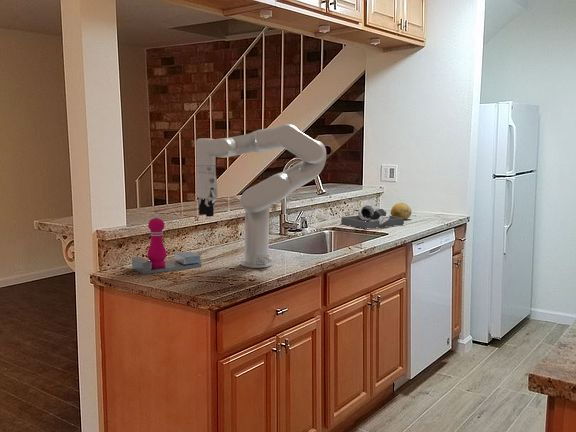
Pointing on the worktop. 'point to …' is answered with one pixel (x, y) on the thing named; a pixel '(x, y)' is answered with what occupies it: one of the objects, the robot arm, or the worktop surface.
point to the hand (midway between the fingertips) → (206, 214)
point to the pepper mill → (156, 243)
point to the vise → (145, 268)
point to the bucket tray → (371, 222)
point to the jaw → (187, 257)
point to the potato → (401, 210)
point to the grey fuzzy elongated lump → (373, 214)
